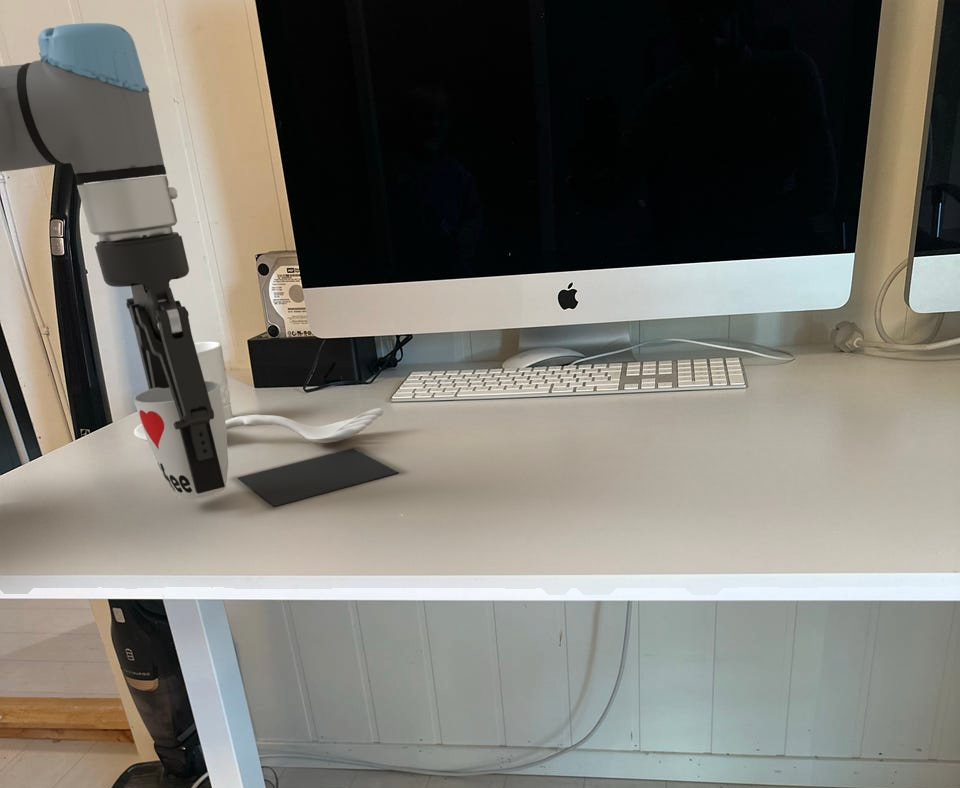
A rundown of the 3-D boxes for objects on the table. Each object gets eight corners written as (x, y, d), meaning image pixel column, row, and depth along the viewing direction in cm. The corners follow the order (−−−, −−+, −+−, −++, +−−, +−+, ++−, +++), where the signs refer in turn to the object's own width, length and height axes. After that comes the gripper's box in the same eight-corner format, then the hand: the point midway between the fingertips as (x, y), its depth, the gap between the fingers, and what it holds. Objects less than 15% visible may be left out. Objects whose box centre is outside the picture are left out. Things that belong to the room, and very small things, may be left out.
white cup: (244, 423, 120) (227, 346, 115) (185, 437, 117) (166, 358, 112) (228, 412, 126) (211, 339, 122) (172, 425, 123) (152, 349, 119)
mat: (274, 506, 91) (273, 505, 91) (237, 478, 100) (237, 477, 100) (398, 473, 96) (398, 472, 96) (353, 449, 106) (353, 448, 106)
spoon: (357, 456, 103) (352, 426, 101) (124, 454, 113) (116, 426, 111) (387, 432, 110) (383, 404, 109) (166, 432, 120) (159, 406, 118)
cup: (154, 488, 94) (127, 392, 89) (231, 471, 97) (209, 376, 92) (168, 510, 88) (140, 407, 83) (250, 491, 90) (227, 390, 86)
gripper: (209, 231, 74) (267, 495, 85) (152, 226, 90) (207, 449, 101) (116, 244, 71) (188, 516, 82) (74, 236, 87) (139, 465, 98)
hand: (199, 479), depth 92 cm, fingers closed on cup, 8 cm apart
